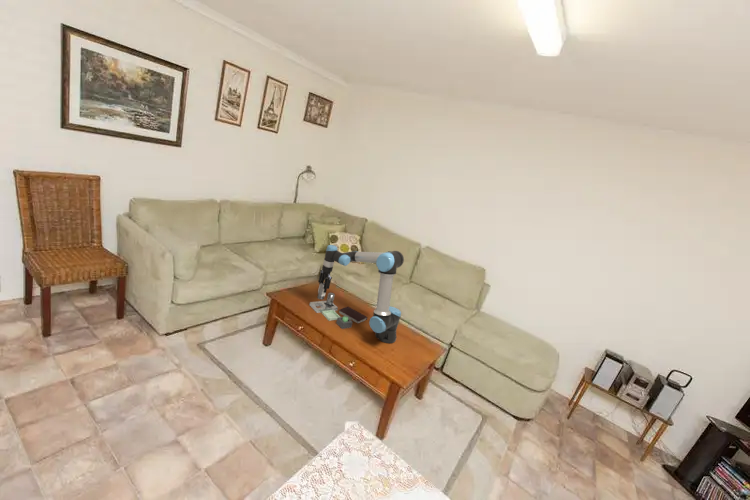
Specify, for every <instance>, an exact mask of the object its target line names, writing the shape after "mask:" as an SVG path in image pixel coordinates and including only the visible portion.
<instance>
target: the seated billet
mask: <svg viewBox="0 0 750 500" xmlns="http://www.w3.org/2000/svg"><path fill="white" fill-rule="evenodd" d="M335 296H336V295H335V293H334V292H328V293H327V298H326V300H325V301H326V306H327V307H332V304H333V303H334V300H335Z"/></svg>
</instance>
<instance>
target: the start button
mask: <svg viewBox="0 0 750 500" xmlns="http://www.w3.org/2000/svg"><path fill="white" fill-rule="evenodd" d="M342 317H343V319H342V320H343V321H344V322H348V317H346V316H344V315H343V316H342Z"/></svg>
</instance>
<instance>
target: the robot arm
mask: <svg viewBox="0 0 750 500" xmlns="http://www.w3.org/2000/svg"><path fill="white" fill-rule="evenodd" d="M351 262H352V263H355V262H356V263H371V264H372V263H373V264H376V267H377V269H378V270H377V271H378V273H379V282H378V284H379V285H378V291H377V298H376V299H377V301H376V308H375V309H374V310H373V314H372V317H370V319H369V323H368V324H369V327H370V329H371V330H372V332H374V333H375V335H374V336H375V338H376V339H377V340H378V341H380V342H382V343H384V344H393V343H395V342H396V341H397V329H398V325H399V323H400V319H401V315H402V311H401V310H400V309H399V308H396V307H394V306H391V297H392V290H393V281H394V276H395V275H396V274H397V269H398V268H400V267H402V266H403V264H404V262H405V259H404V255H403V253H402V252H401V251H398V250H389V251H388V250H387V251H385V252H378V251H377V252H376V251H374V252H373V251H357V250H352V251H347V252H340V251H339V250H338V247H337V245H334V244H329V245H327V247H326V249H325V255H324V259H323V263H322V268H321V269H320V271H319V277H318V280H317V281H318V284H319V286H318V290H317V293H318V292H319V288H320V283H321V282H324V288H323V291H322V295H321V296H324V297H326V294H327V290H329V289H330V286H331V281H332V279H333V277H332V276H331V273H332V272H333V268H334V266H335V265H334V264H335V263H338V264H339V265H341V266H344V267H346V266H348V265H349V264H350V263H351Z"/></svg>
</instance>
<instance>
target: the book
mask: <svg viewBox="0 0 750 500" xmlns="http://www.w3.org/2000/svg"><path fill="white" fill-rule="evenodd" d="M338 313H339V315H342V316H343V317H344V316H347V317H348V318H349V319H350V320H351V321H352V322H354V323H357V324H360V323H362V322H364V321H367V320H368V316H366V315H365V314H362V313H361V312H359V311H357V310H355V309H353V308H351V307H350V306H344V307H342V308H339V309H338Z"/></svg>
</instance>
